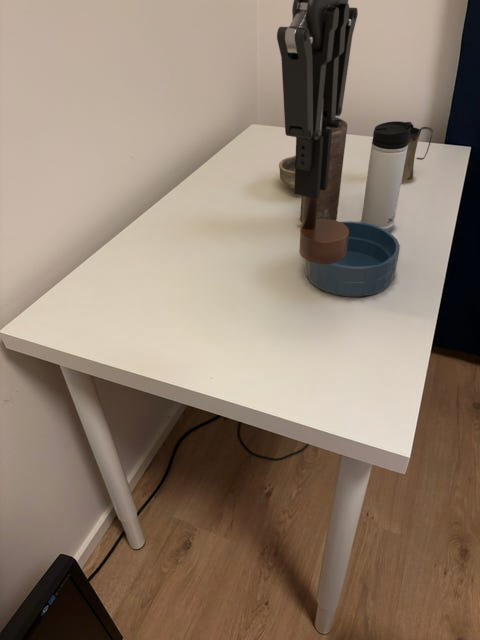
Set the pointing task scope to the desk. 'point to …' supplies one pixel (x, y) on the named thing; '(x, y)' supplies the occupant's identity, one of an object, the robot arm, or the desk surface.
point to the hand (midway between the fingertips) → (310, 190)
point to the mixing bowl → (359, 263)
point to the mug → (412, 153)
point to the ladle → (321, 233)
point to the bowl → (288, 171)
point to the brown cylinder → (332, 176)
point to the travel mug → (385, 173)
